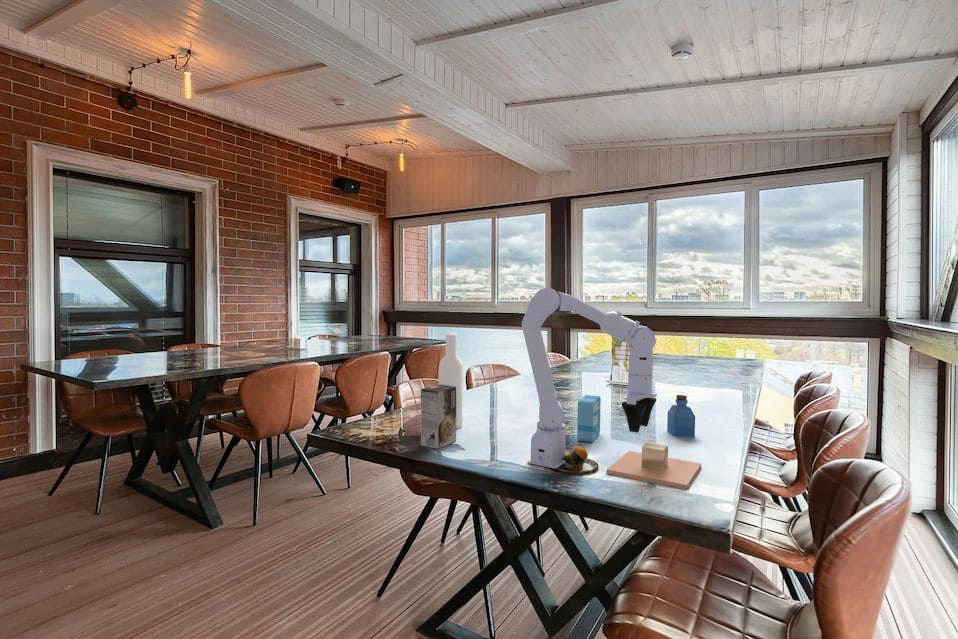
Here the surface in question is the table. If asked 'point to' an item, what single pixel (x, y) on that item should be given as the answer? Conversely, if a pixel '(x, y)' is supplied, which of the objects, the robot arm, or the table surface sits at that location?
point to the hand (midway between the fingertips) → (638, 428)
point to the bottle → (453, 374)
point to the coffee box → (438, 416)
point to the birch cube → (655, 456)
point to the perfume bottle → (681, 419)
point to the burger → (578, 461)
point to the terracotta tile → (656, 471)
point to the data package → (588, 418)
